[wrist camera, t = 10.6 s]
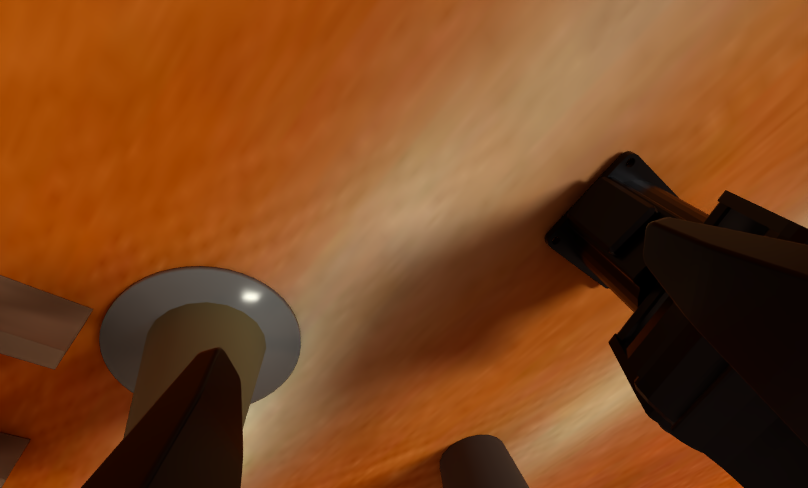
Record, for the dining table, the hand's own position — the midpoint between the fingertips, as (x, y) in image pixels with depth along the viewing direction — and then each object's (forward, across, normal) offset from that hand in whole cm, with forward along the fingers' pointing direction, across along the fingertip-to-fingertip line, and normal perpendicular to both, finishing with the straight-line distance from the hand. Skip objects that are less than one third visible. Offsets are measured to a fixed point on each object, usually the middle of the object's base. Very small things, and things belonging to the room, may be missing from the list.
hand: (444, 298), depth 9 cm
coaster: (+13, +11, +9) cm, 20 cm away
